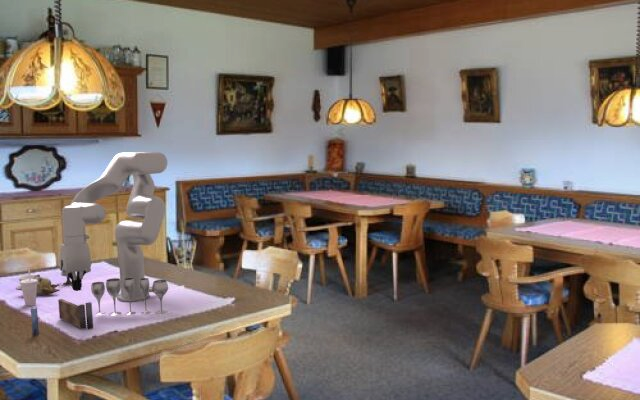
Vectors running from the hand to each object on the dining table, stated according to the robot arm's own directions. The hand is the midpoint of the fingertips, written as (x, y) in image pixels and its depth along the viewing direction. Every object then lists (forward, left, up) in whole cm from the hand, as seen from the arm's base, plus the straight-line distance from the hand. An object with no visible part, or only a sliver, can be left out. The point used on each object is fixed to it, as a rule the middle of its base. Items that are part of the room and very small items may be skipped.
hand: (77, 289), depth 231 cm
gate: (+1, +6, -10) cm, 12 cm away
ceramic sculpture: (+21, -39, -11) cm, 46 cm away
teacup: (+29, -53, -11) cm, 62 cm away
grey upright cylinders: (+3, +13, -11) cm, 17 cm away
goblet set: (-18, -2, -11) cm, 21 cm away
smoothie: (+22, -24, -11) cm, 34 cm away
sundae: (+13, -54, -11) cm, 57 cm away
